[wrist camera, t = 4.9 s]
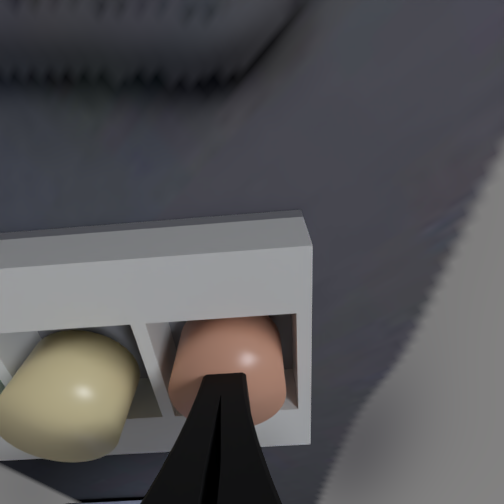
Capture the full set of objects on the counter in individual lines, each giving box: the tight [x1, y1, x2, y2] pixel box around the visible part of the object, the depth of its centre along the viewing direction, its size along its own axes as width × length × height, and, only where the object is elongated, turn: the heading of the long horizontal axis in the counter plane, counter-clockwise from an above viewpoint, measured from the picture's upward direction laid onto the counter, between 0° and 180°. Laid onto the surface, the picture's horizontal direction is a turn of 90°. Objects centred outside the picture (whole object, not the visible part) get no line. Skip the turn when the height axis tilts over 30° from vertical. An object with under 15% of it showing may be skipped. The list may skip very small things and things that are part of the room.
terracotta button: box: [168, 315, 286, 426], centre depth 13 cm, size 4×4×2 cm
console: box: [0, 210, 313, 461], centre depth 14 cm, size 10×17×3 cm, turn 95°
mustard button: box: [0, 330, 140, 462], centre depth 12 cm, size 4×4×2 cm
